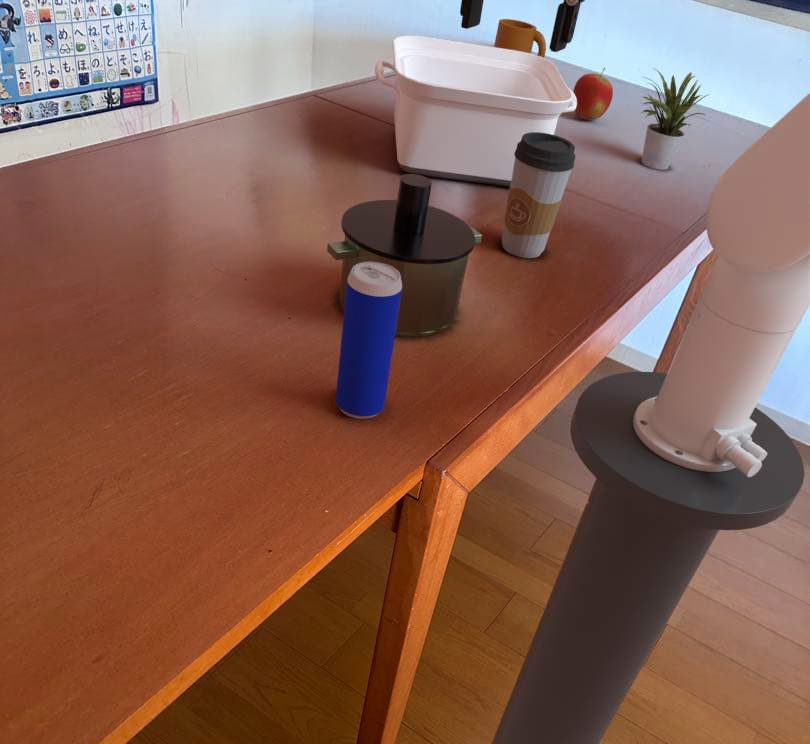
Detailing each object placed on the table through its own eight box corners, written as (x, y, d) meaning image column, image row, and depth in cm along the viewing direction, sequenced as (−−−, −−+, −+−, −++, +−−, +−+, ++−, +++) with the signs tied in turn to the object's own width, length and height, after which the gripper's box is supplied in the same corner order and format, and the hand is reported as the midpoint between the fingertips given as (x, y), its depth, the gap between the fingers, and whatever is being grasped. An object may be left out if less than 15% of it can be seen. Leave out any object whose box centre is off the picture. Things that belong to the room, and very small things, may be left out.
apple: (573, 109, 175) (587, 58, 168) (609, 120, 173) (624, 68, 167) (562, 118, 170) (575, 65, 163) (598, 129, 168) (614, 75, 161)
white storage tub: (366, 177, 131) (377, 76, 121) (367, 119, 152) (376, 28, 142) (570, 203, 136) (596, 108, 125) (543, 143, 156) (564, 57, 146)
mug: (530, 79, 188) (540, 35, 182) (484, 65, 191) (492, 21, 185) (544, 73, 194) (554, 29, 188) (499, 59, 197) (508, 16, 191)
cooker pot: (494, 323, 102) (512, 251, 96) (354, 349, 94) (363, 271, 87) (434, 270, 111) (446, 200, 104) (300, 288, 102) (304, 214, 95)
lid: (499, 260, 95) (512, 203, 90) (381, 276, 88) (389, 215, 83) (429, 204, 104) (438, 150, 99) (318, 215, 97) (321, 157, 92)
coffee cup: (482, 243, 119) (505, 135, 109) (517, 231, 124) (543, 127, 114) (526, 266, 116) (554, 157, 105) (560, 254, 120) (590, 148, 110)
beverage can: (393, 411, 86) (415, 278, 75) (357, 427, 83) (374, 291, 73) (361, 387, 88) (377, 255, 78) (324, 402, 85) (336, 267, 75)
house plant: (622, 142, 164) (650, 51, 152) (690, 160, 162) (724, 68, 150) (612, 163, 153) (641, 67, 142) (684, 182, 151) (719, 86, 140)
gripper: (663, -171, 70) (605, 53, 82) (483, -202, 75) (453, 14, 87) (638, -175, 65) (580, 65, 77) (447, -208, 70) (420, 22, 82)
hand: (513, 37), depth 82 cm, fingers open, 9 cm apart
